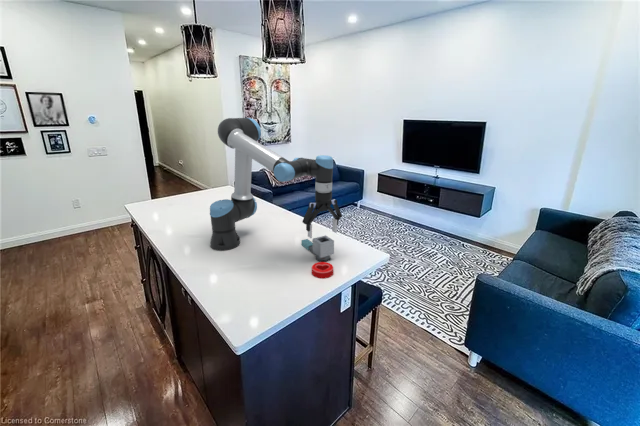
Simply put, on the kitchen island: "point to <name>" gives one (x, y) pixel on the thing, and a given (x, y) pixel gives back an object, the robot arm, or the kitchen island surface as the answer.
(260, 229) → the kitchen island surface
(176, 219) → the kitchen island surface
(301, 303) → the kitchen island surface
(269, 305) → the kitchen island surface
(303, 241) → the ratchet
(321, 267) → the decorative ornament
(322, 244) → the hollow square tube
